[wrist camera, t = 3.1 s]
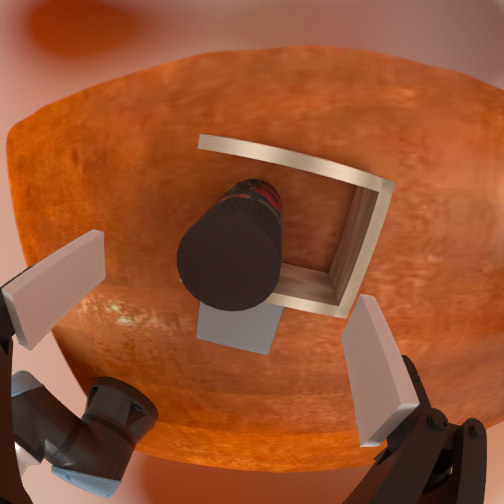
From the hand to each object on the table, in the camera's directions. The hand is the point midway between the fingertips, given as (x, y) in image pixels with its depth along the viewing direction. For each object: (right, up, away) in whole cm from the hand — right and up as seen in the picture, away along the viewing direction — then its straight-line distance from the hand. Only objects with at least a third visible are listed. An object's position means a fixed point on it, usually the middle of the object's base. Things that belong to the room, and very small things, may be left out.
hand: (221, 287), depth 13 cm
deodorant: (+2, +7, +17) cm, 18 cm away
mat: (0, -6, +22) cm, 23 cm away
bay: (+5, +6, +16) cm, 18 cm away
